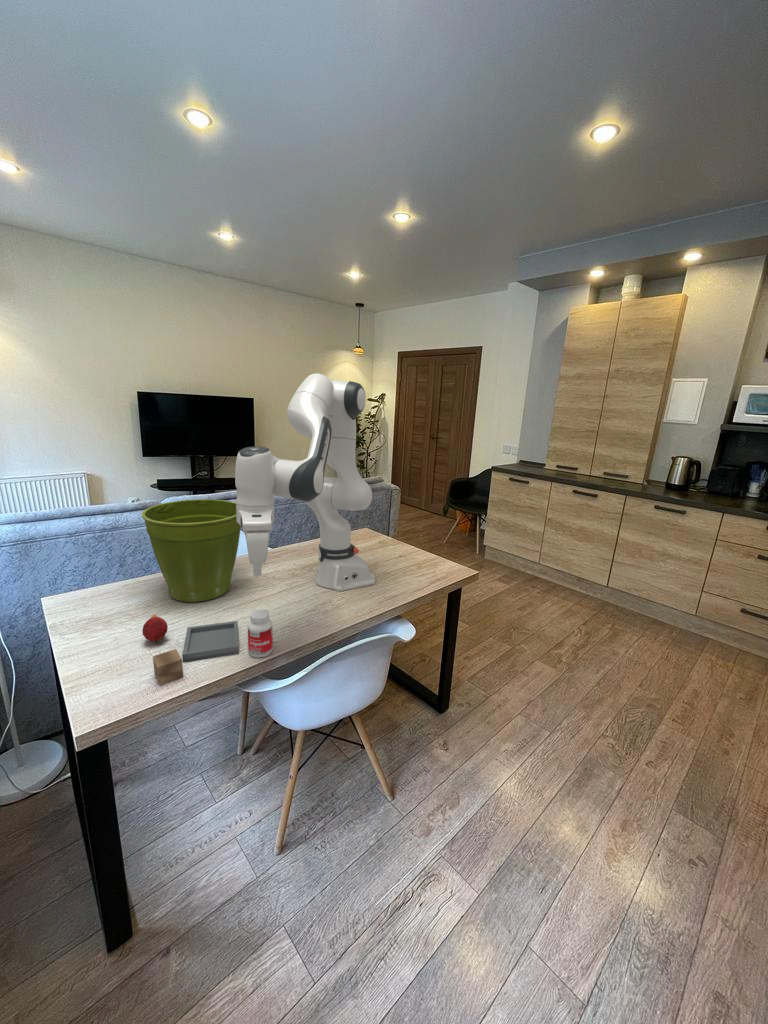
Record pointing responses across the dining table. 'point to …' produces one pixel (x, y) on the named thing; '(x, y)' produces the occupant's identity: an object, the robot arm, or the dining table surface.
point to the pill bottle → (260, 634)
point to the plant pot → (194, 546)
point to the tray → (211, 641)
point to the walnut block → (168, 667)
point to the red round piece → (154, 628)
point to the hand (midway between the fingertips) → (256, 567)
